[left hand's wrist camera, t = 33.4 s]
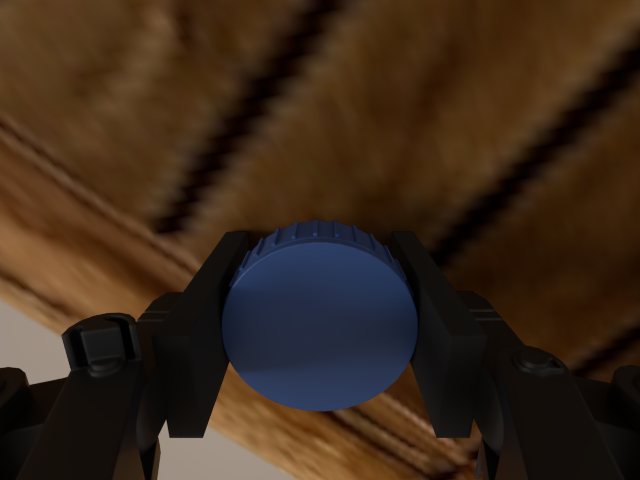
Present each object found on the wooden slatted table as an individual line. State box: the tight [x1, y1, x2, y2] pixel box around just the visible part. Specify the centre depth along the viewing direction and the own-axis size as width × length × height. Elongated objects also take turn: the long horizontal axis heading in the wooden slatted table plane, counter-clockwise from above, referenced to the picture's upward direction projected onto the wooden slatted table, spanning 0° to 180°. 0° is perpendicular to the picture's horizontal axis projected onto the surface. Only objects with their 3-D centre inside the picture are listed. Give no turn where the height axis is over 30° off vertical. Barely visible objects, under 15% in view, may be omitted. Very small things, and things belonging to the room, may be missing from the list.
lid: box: [221, 219, 418, 411], centre depth 11 cm, size 5×6×2 cm
